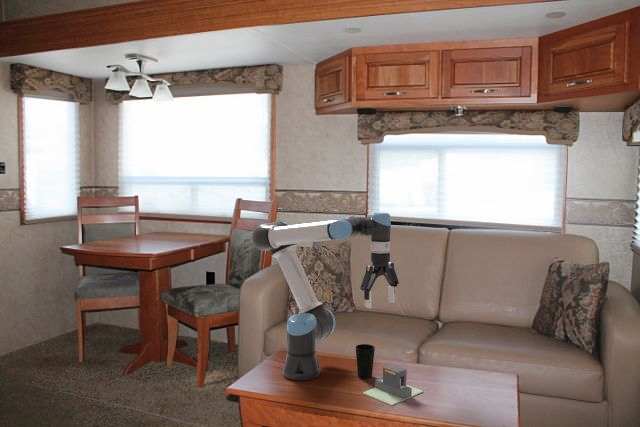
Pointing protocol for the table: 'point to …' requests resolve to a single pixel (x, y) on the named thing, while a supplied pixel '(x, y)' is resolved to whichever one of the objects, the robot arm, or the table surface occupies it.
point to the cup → (365, 360)
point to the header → (391, 392)
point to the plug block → (394, 376)
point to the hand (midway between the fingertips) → (379, 305)
